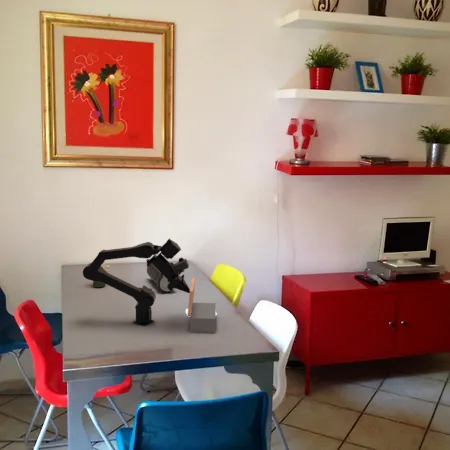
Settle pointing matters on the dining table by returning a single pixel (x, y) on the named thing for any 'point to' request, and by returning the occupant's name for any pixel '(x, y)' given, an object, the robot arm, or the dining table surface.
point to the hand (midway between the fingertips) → (190, 292)
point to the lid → (191, 297)
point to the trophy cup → (101, 284)
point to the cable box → (203, 318)
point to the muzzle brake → (157, 278)
